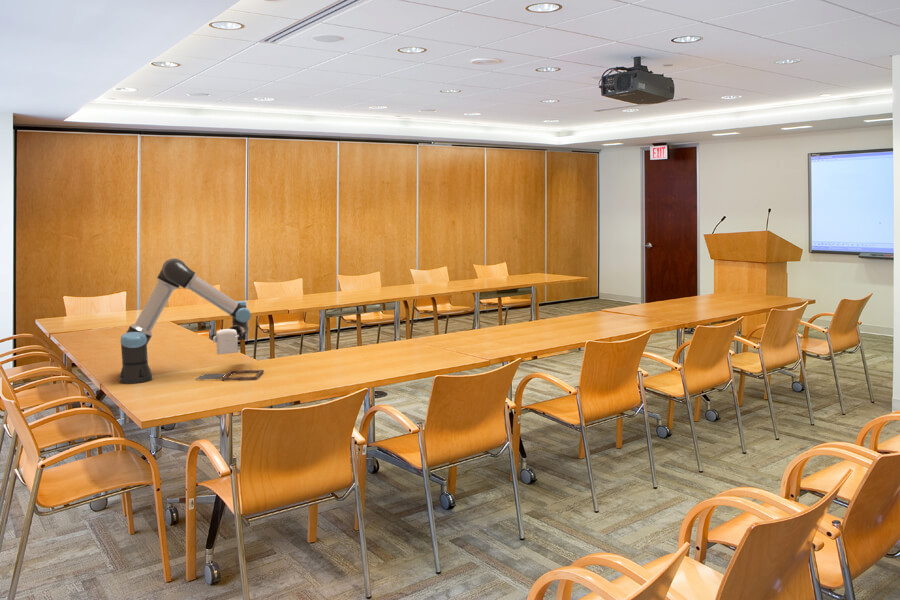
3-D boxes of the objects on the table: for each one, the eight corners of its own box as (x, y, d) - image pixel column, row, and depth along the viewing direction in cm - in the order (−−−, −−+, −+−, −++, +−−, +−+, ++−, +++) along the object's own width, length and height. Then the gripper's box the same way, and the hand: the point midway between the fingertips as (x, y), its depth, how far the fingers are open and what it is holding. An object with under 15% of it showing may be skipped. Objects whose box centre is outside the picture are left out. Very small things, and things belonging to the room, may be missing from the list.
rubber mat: (195, 380, 363) (195, 379, 363) (202, 375, 375) (202, 374, 375) (220, 379, 364) (220, 378, 364) (226, 374, 376) (226, 373, 376)
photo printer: (217, 354, 364) (216, 330, 363) (216, 353, 368) (215, 329, 367) (238, 353, 369) (237, 328, 367) (237, 351, 372) (236, 327, 371)
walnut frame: (222, 380, 361) (221, 377, 361) (230, 373, 378) (230, 370, 377) (257, 380, 362) (256, 377, 362) (263, 372, 379) (263, 369, 378)
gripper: (257, 339, 386) (247, 347, 364) (214, 340, 385) (201, 347, 363) (256, 325, 385) (247, 332, 363) (213, 326, 384) (201, 332, 362)
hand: (224, 339), depth 363 cm, fingers closed on photo printer, 10 cm apart
